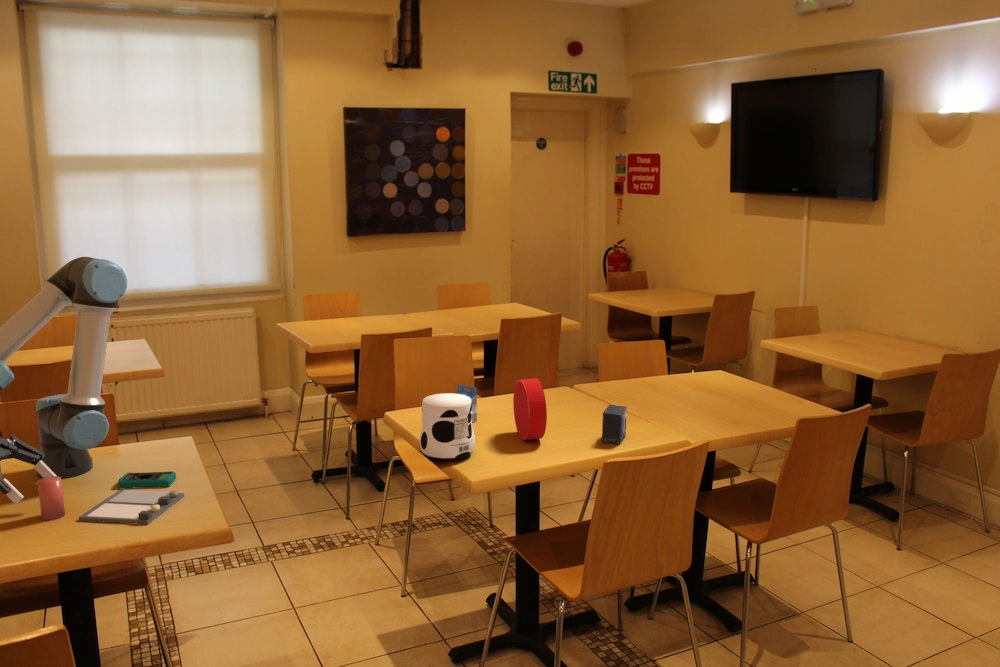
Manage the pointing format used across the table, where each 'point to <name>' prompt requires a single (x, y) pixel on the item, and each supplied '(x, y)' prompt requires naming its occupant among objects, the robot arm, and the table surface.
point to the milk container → (447, 426)
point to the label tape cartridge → (472, 395)
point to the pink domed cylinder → (51, 498)
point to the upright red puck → (530, 409)
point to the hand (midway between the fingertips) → (37, 490)
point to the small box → (614, 424)
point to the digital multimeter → (147, 479)
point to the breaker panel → (132, 506)
